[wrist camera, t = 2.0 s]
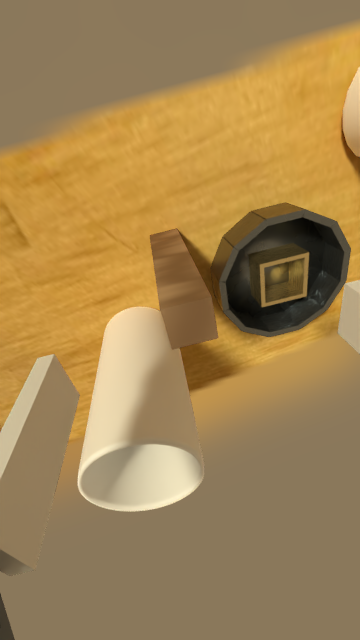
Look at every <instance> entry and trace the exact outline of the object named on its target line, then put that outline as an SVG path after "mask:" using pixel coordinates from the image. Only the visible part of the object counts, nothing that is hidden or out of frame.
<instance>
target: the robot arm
mask: <svg viewBox="0 0 360 640" xmlns="http://www.w3.org/2000/svg"><path fill="white" fill-rule="evenodd" d="M338 334H339V335H340V336H341V337H342V338H343V339H344V340H346V342H347V343H348V344H349V345H350V346H352V347H353V348H354V349H355V350H356V351H357V352H358V353H359V354H360V280H358V281H354V282H350V283H346V284H345V286H344V293H343V300H342V307H341V314H340V320H339V327H338ZM79 396H80V395H79V393H78V392H77V390H76V388H75V387H74V385H73V383H72V382H71V380H70V379H69V377H68V375H67V374H66V372H65V371H64V369H63V367H62V366H61V364H60V362H59V361H58V359H57V358H56V356H55V354H53V355H49V356H44V357H40V358H37V360H36V362H35V364H34V366H33V368H32V370H31V372H30V374H29V376H28V378H27V380H26V382H25V384H24V386H23V388H22V390H21V392H20V394H19V396H18V398H17V400H16V402H15V404H14V406H13V408H12V410H11V412H10V414H9V416H8V418H7V420H6V422H5V424H4V426H3V428H2V430H1V432H0V571H1V572H3V573H5V574H7V575H9V576H13V575H16V574H21V573H25V572H30V571H34V570H35V569H36V565H37V561H38V557H39V553H40V549H41V545H42V541H43V537H44V533H45V530H46V526H47V522H48V518H49V514H50V510H51V506H52V502H53V498H54V494H55V490H56V486H57V483H58V478H59V475H60V471H61V467H62V463H63V459H64V455H65V451H66V447H67V443H68V439H69V435H70V432H71V428H72V424H73V420H74V416H75V412H76V408H77V404H78V400H79ZM0 640H15V639H14V636H13V633H12V630H11V626H10V623H9V620H8V617H7V614H6V610H5V607H4V604H3V601H2V598H1V594H0Z"/></svg>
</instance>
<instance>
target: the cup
mask: <svg viewBox="0 0 360 640" xmlns="http://www.w3.org/2000/svg"><path fill="white" fill-rule="evenodd" d="M204 472H205V470H204V462H203V456H202V451H201V447H200V442H199V437H198V432H197V427H196V423H195V418H194V413H193V408H192V404H191V399H190V394H189V389H188V385H187V380H186V375H185V370H184V366H183V361H182V356H181V351H180V348H177V349H173V350H172V349H171V345H170V342H169V338H168V335H167V332H166V328H165V325H164V321H163V318H162V315H161V311H159V310H157V309H154V308H150V307H132V308H128V309H125V310H123V311H121V312H119V313H118V314H116V315H115V316H114V317H113V318H112V319H111V320H110V321H109V323H108V324H107V326H106V329H105V333H104V338H103V343H102V349H101V354H100V359H99V365H98V370H97V375H96V381H95V386H94V391H93V397H92V402H91V407H90V413H89V418H88V423H87V429H86V434H85V439H84V445H83V450H82V456H81V461H80V467H79V472H78V488H79V491H80V493H81V494H82V495H83V496H84V497H85V498H86V499H87V500H88V501H89V502H91V503H93V504H95V505H97V506H100V507H103V508H106V509H111V510H117V511H144V510H151V509H156V508H160V507H163V506H167V505H169V504H172V503H174V502H177V501H179V500H181V499H183V498H184V497H186V496H188V495H189V494H190V493H192V492H193V491H194V490H195V489H196V488H197V487H198V486H199V485H200V483H201V481H202V480H203V477H204Z"/></svg>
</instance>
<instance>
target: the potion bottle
mask: <svg viewBox="0 0 360 640" xmlns="http://www.w3.org/2000/svg"><path fill="white" fill-rule="evenodd" d="M343 132H344V136H345V139H346V142H347V145H348V147H349V148H350V149H351V150H352V152H353V153H354V154H355V155H356V156H358V157H360V67H359V68H358V70H357V72H356V74H355V76H354V79H353V81H352V83H351V85H350V87H349V89H348V92H347V96H346V100H345V104H344V108H343Z"/></svg>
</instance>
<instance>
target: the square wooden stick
mask: <svg viewBox="0 0 360 640" xmlns="http://www.w3.org/2000/svg"><path fill="white" fill-rule="evenodd" d="M150 240H151V248H152V255H153V262H154V269H155V276H156V284H157V291H158V298H159V305H160V311H161V315H162V318H163V321H164V325H165V328H166V332H167V335H168V338H169V342H170V345H171V349H172V350H173V349H177V348H181V347H185V346H189V345H193V344H197V343H201V342H205V341H209V340H213V339H217V338H218V333H217V327H216V321H215V315H214V308H213V302H212V297H211V295H210V293H209V291H208V289H207V287H206V285H205V283H204V281H203V279H202V277H201V275H200V273H199V271H198V269H197V267H196V265H195V263H194V261H193V259H192V257H191V255H190V253H189V251H188V249H187V247H186V245H185V243H184V241H183V239H182V237H181V236H180V234H179V232H178V230H177V229H173V230H169V231H165V232H161V233H157V234H153V235H150Z"/></svg>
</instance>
